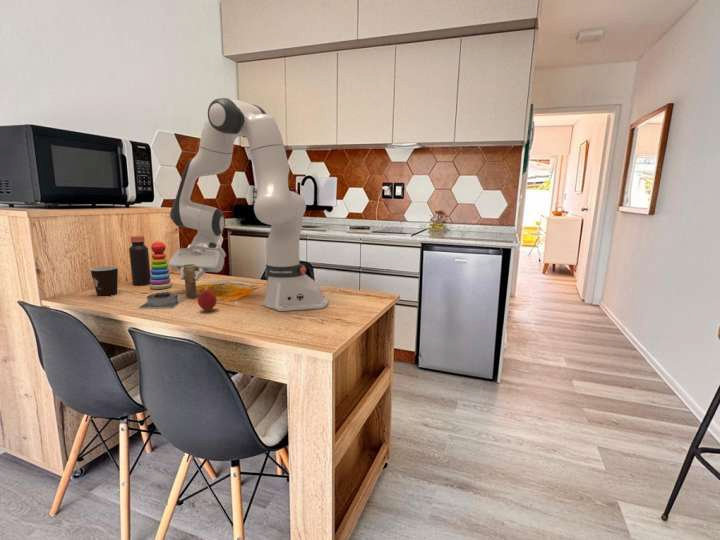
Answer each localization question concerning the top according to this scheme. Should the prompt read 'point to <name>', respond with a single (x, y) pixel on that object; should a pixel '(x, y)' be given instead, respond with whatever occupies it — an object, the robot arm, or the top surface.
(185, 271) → the dowel
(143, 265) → the bottle
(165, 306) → the collar
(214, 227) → the robot arm
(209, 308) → the onion
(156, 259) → the stacking toy
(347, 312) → the top surface
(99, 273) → the coffee mug
